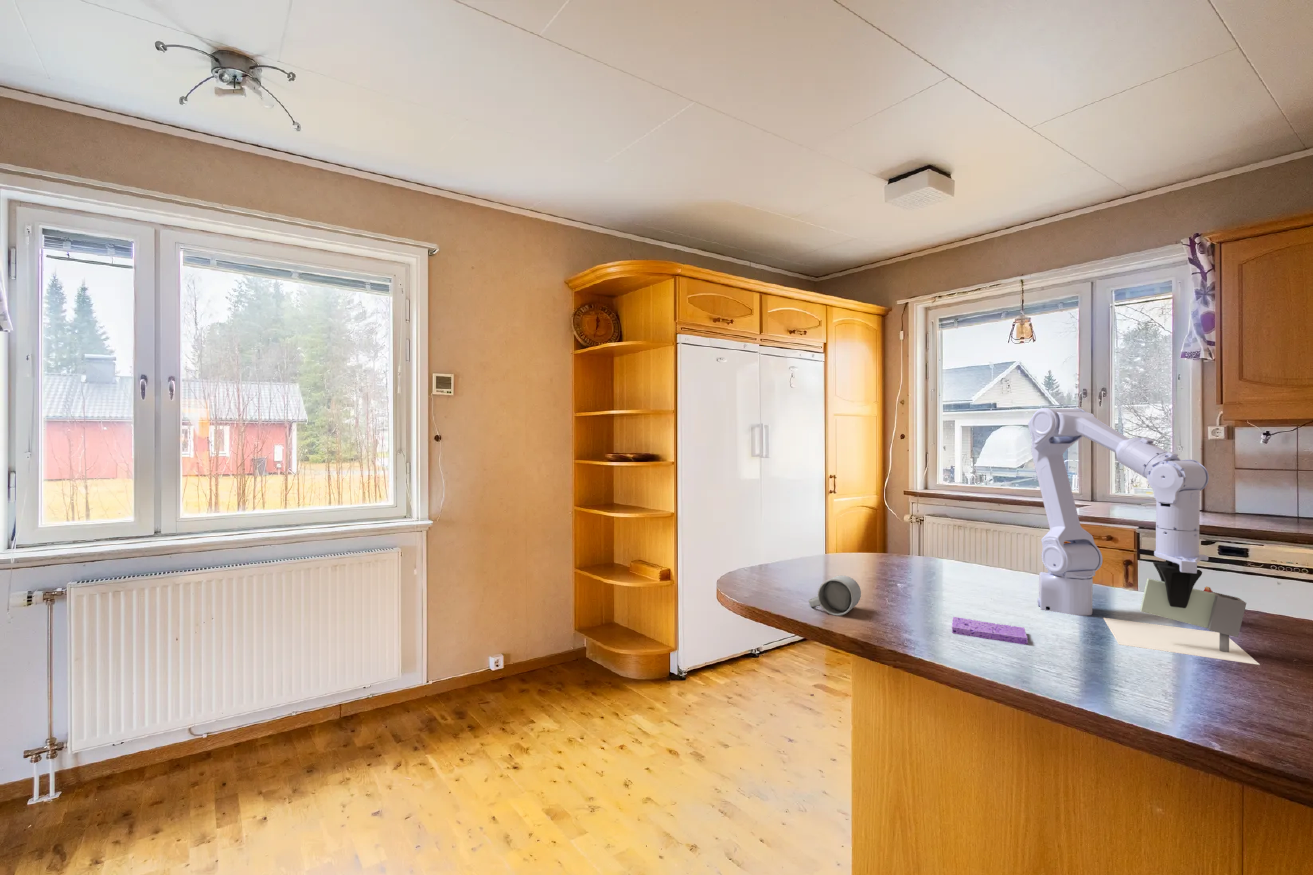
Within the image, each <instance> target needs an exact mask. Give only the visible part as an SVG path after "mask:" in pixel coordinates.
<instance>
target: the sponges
mask: <svg viewBox="0 0 1313 875" xmlns="http://www.w3.org/2000/svg"><path fill="white" fill-rule="evenodd" d="M951 620H952V622H951V623H952V624H951V634H954V635H961V636H967V637H972V638H979V639H985V640H987V639H988V640H992V641H993V640H994V641H999V642H1007V643H1013V644H1019V645H1028V644H1029V639H1028V635H1027V634H1026V629H1025V627H1023V626H1022V627H1021V626H1015V625H1014V626H1013V625H1009V624H999V623H994V622H988V621H982V620H976V619H970V618H963V617H957V616H953V617H952V619H951Z"/></svg>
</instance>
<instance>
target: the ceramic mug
mask: <svg viewBox="0 0 1313 875" xmlns="http://www.w3.org/2000/svg"><path fill="white" fill-rule="evenodd" d="M860 587H861V586H860V585H859V583H858V582H857V581H856V580H855V579H854V578H852V577H851V576H847V575H836V576H833V577H832V578H829V579H826V580H824V581H823V583H821V584H820V586H819V588H818V590H817V596H815V597H812V598H810V599H809V600H808V604H809V606H810V608H814V607H819V606H820V607H821V608H822V610H824V611H825V612H826V613H828V614H829V615H831V616H838V617H839V616H844V615H847V614H848V613H849V612H850V611H851V610H853V608H854V607H856V606H857V605H858V603H859V602H860V601H861V600H860V599H861V597H862V591H861V588H860Z"/></svg>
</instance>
